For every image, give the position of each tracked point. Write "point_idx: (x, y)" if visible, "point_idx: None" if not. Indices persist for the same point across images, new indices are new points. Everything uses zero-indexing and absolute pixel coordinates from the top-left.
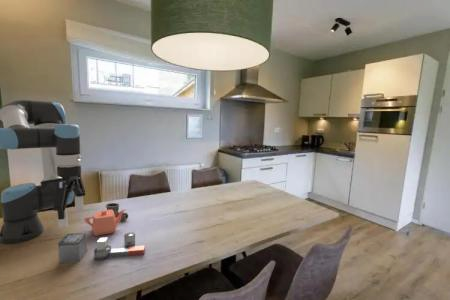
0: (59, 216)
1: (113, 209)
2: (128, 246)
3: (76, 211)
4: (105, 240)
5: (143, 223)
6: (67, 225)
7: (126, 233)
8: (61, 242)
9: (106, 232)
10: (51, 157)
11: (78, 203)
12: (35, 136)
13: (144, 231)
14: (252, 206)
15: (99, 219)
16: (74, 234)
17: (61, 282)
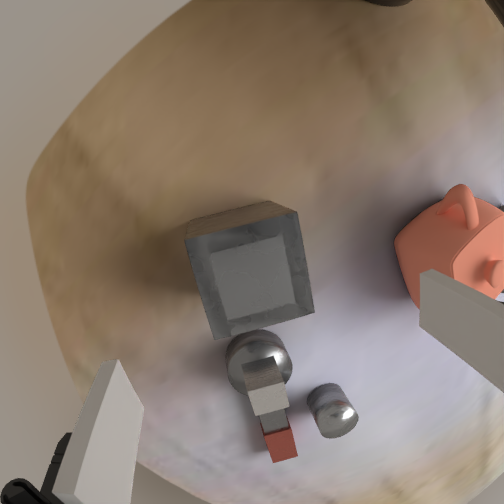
0: (59, 464)
1: None
2: (309, 406)
3: (423, 281)
4: (263, 413)
5: None
6: (138, 412)
7: (351, 410)
8: (195, 252)
9: (406, 283)
10: None
11: (473, 334)
12: None
13: (407, 386)
14: (451, 492)
15: None
16: (294, 260)
17: (95, 311)
